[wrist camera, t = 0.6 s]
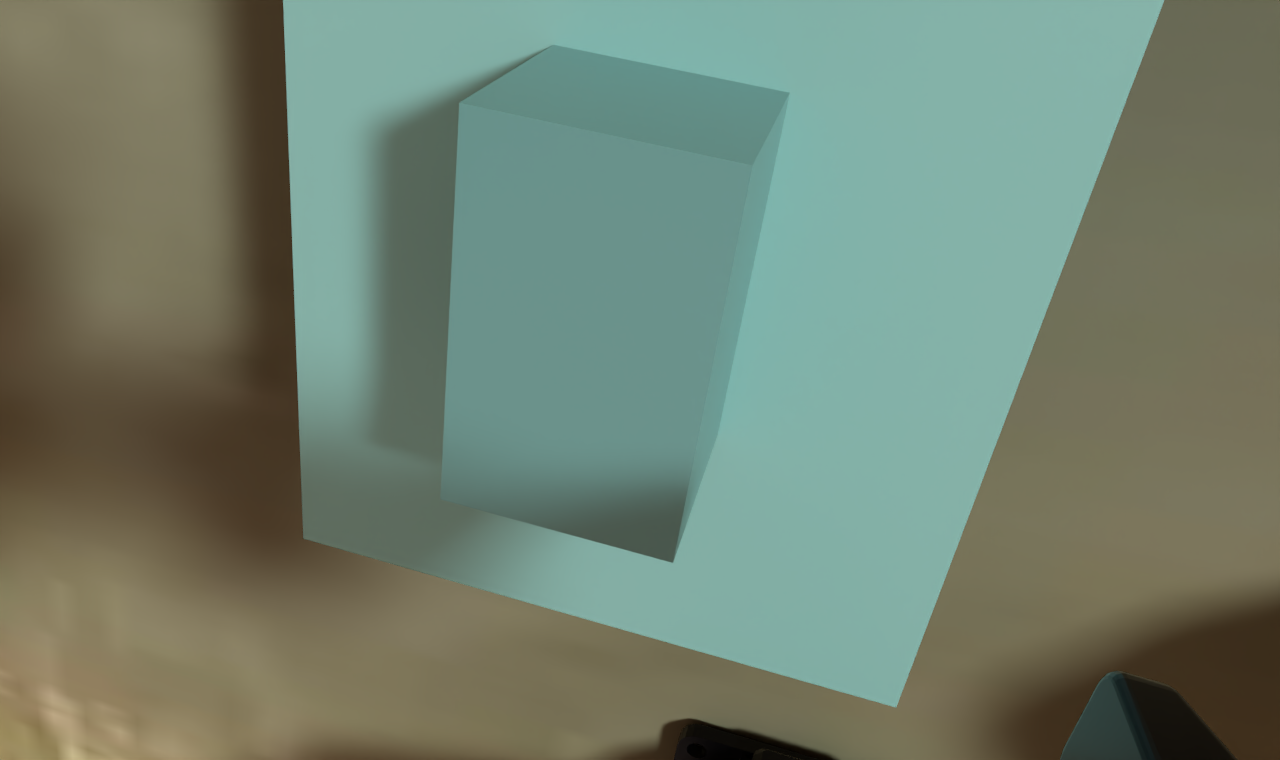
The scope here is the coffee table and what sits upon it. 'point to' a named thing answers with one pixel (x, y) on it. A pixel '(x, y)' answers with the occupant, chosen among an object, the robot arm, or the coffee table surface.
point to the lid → (684, 296)
